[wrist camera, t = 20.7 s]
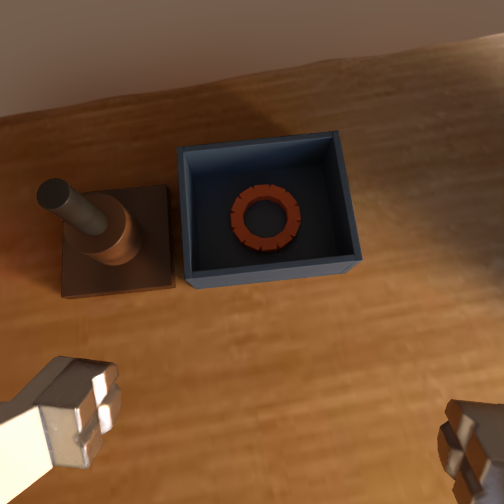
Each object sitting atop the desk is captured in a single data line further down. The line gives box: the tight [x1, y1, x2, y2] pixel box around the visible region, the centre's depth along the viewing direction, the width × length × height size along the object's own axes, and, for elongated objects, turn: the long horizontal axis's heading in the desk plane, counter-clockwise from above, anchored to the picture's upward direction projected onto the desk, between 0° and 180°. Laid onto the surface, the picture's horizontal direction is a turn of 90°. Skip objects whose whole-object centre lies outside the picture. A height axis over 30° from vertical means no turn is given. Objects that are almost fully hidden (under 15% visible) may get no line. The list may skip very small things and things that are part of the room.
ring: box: [230, 184, 301, 254], centre depth 34 cm, size 6×6×1 cm
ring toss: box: [37, 178, 176, 299], centre depth 29 cm, size 10×10×12 cm
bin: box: [176, 131, 363, 289], centre depth 32 cm, size 14×12×6 cm
